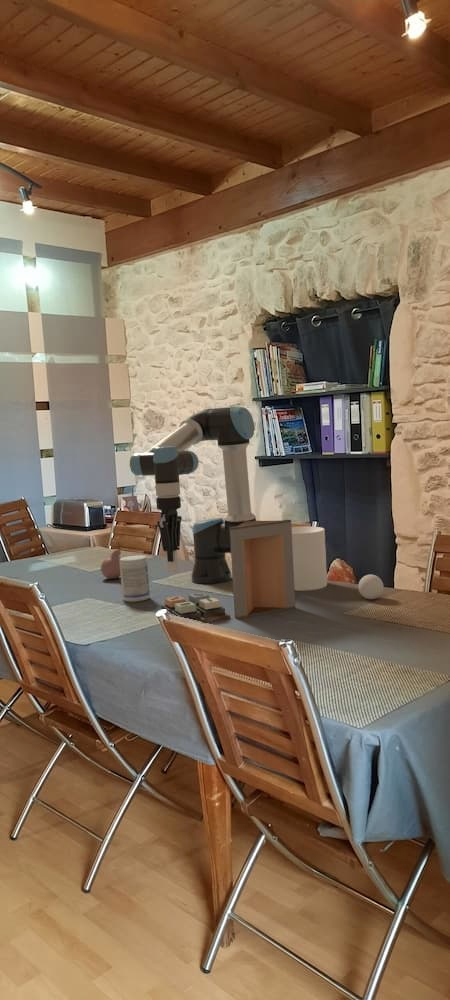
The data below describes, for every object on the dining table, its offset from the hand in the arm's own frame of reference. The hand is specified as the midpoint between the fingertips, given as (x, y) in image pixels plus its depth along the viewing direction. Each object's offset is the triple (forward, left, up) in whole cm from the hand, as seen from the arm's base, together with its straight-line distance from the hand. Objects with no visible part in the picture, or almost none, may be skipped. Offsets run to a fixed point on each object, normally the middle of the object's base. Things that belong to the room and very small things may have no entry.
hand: (173, 571), depth 237 cm
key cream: (-8, +9, -11) cm, 16 cm away
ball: (-60, +19, -14) cm, 65 cm away
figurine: (0, -71, -14) cm, 72 cm away
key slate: (-8, 0, -11) cm, 13 cm away
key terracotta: (0, 0, -11) cm, 11 cm away
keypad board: (-4, +4, -14) cm, 15 cm away
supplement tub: (+4, -30, -14) cm, 33 cm away
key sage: (0, +9, -11) cm, 14 cm away
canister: (-53, -12, -14) cm, 56 cm away
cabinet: (-24, +10, -14) cm, 30 cm away
